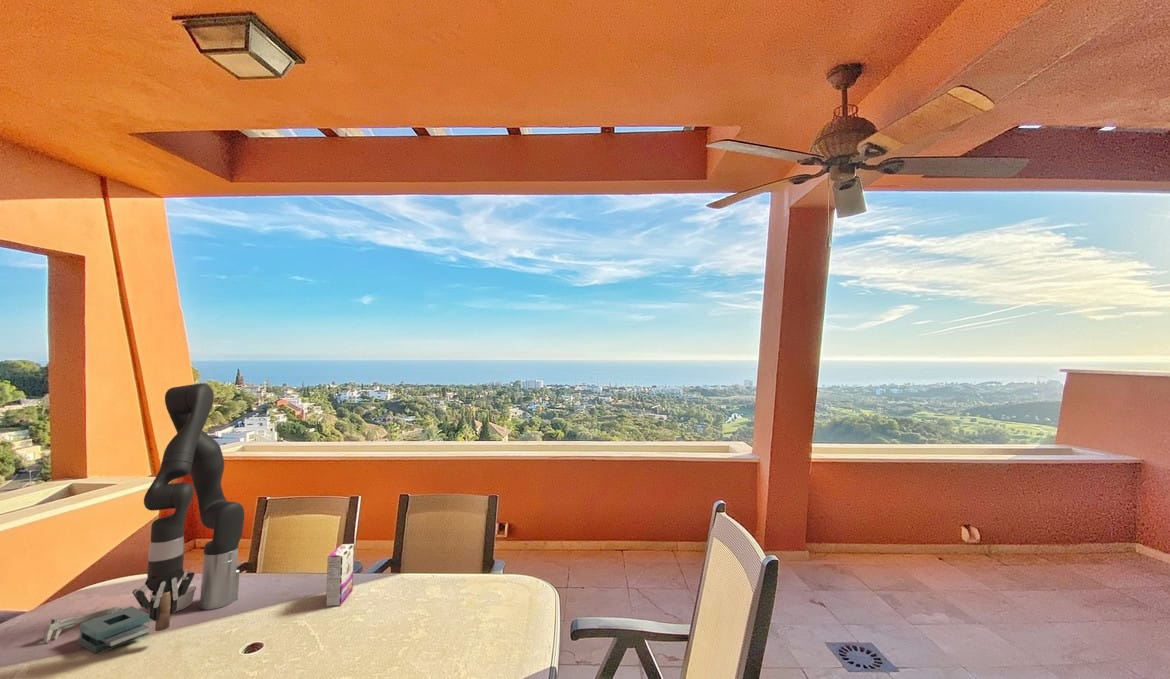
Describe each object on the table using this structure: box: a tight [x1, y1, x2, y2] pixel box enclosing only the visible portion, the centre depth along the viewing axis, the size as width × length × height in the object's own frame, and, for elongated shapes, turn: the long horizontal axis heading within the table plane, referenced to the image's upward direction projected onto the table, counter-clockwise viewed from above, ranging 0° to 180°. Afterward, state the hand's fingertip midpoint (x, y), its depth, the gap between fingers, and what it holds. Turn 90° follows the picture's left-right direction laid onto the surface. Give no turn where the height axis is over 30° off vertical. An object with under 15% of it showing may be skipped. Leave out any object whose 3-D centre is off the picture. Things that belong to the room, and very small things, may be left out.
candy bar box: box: [325, 543, 355, 608], centre depth 155 cm, size 11×5×16 cm, turn 8°
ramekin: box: [174, 583, 197, 613], centre depth 149 cm, size 11×11×5 cm
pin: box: [154, 590, 172, 632], centre depth 128 cm, size 3×3×10 cm
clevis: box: [78, 605, 151, 655], centre depth 130 cm, size 11×16×6 cm
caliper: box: [43, 605, 123, 644], centre depth 138 cm, size 20×1×6 cm, turn 178°
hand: (162, 616), depth 128 cm, fingers closed on pin, 3 cm apart
